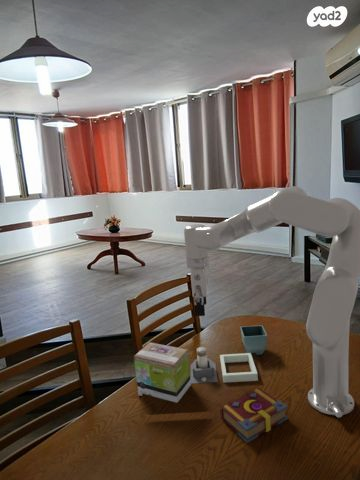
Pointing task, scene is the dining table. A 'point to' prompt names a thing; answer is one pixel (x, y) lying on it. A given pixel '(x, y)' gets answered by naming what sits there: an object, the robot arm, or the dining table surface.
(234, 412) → the decorative book
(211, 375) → the block
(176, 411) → the dining table surface
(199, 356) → the cylinder
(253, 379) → the parts tray
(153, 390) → the tea box
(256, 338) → the flower pot
